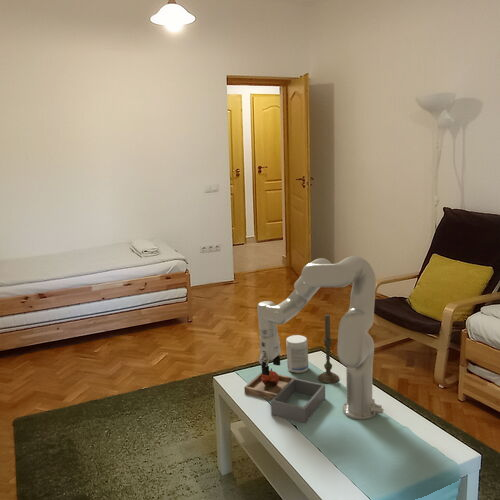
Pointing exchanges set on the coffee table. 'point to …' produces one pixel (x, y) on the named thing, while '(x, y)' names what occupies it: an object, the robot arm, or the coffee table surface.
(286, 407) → the grey open box
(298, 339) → the supplement tub
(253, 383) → the tray
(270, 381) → the pomegranate
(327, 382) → the candlestick holder
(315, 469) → the coffee table surface
